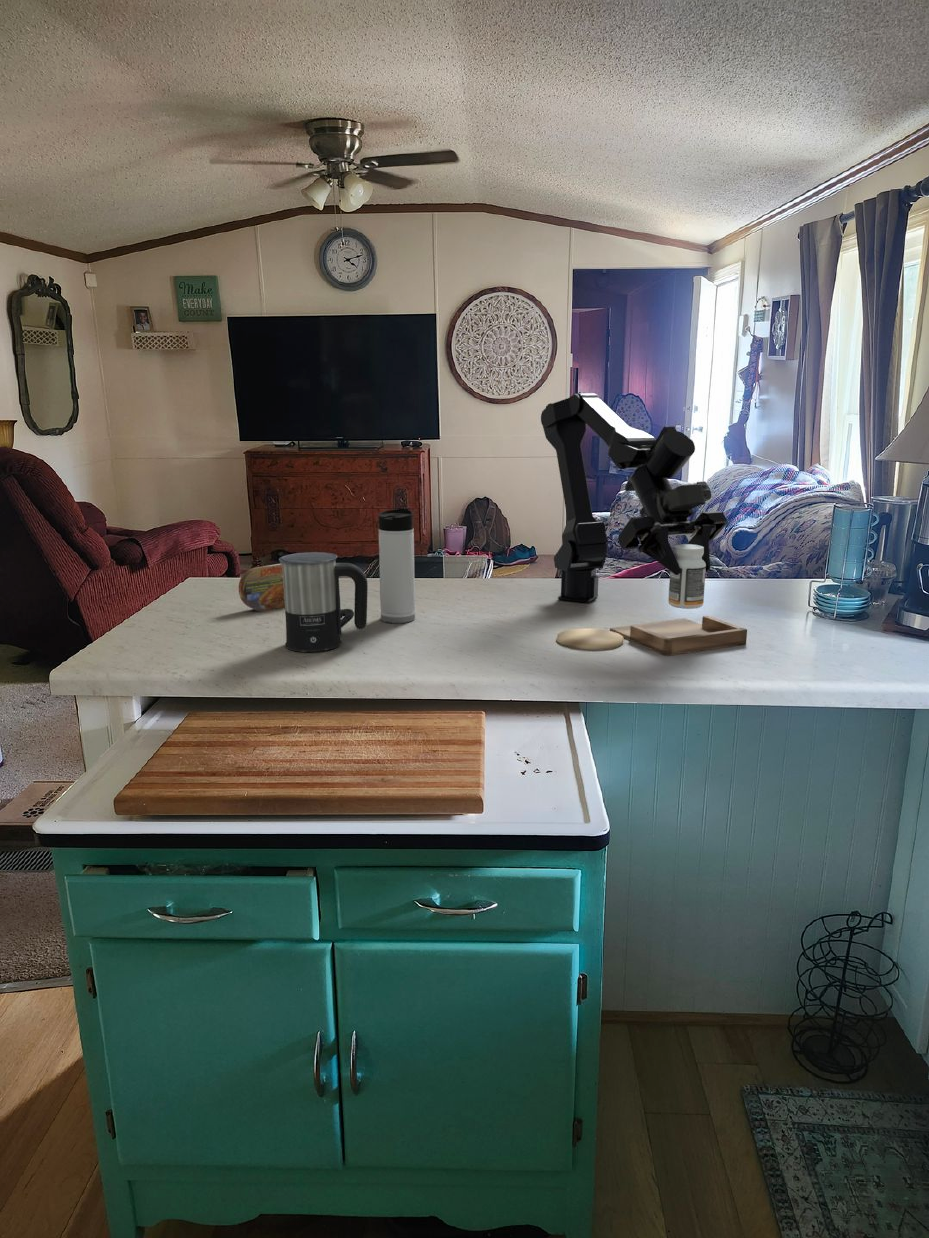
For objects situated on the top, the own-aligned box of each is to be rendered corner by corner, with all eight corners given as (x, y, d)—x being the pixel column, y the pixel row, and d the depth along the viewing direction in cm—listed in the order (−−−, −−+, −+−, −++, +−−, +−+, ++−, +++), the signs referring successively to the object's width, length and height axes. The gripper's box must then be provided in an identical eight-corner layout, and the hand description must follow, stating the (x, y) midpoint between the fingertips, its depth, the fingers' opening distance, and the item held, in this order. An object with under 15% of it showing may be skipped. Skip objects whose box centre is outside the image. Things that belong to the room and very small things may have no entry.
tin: (245, 614, 164) (242, 570, 162) (237, 611, 166) (234, 567, 164) (315, 602, 173) (313, 560, 171) (308, 599, 176) (306, 558, 173)
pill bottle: (703, 603, 147) (708, 544, 144) (702, 611, 142) (706, 550, 139) (669, 600, 148) (673, 542, 146) (666, 608, 143) (670, 548, 141)
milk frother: (293, 656, 138) (288, 564, 134) (266, 632, 152) (261, 547, 148) (377, 644, 144) (375, 556, 140) (345, 622, 158) (342, 541, 154)
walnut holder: (609, 631, 152) (610, 617, 151) (684, 621, 158) (685, 608, 158) (666, 655, 138) (667, 640, 137) (746, 644, 144) (747, 629, 144)
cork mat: (547, 644, 144) (547, 641, 144) (570, 628, 154) (570, 625, 153) (611, 653, 139) (612, 649, 139) (631, 636, 149) (631, 633, 149)
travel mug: (421, 616, 162) (420, 508, 157) (404, 625, 156) (402, 513, 151) (392, 613, 164) (390, 506, 159) (374, 621, 159) (371, 511, 154)
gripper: (632, 467, 139) (670, 547, 132) (725, 463, 146) (766, 539, 139) (602, 510, 148) (637, 587, 141) (691, 504, 155) (728, 577, 148)
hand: (693, 572), depth 142 cm, fingers closed on pill bottle, 6 cm apart
